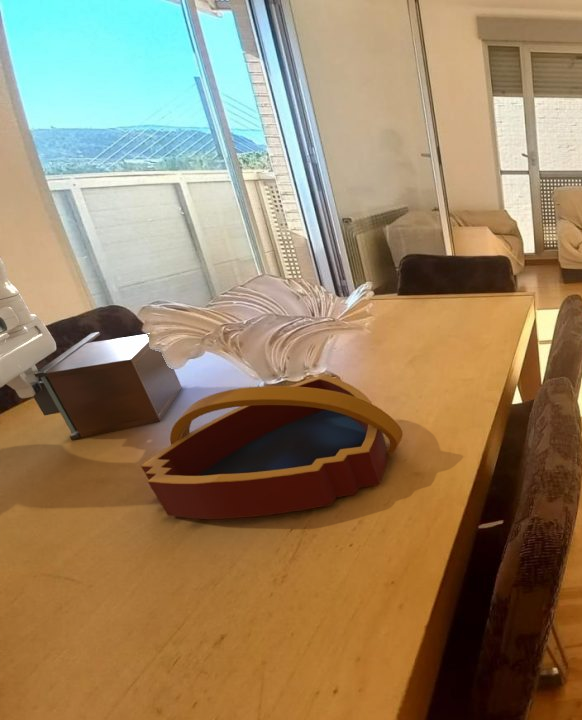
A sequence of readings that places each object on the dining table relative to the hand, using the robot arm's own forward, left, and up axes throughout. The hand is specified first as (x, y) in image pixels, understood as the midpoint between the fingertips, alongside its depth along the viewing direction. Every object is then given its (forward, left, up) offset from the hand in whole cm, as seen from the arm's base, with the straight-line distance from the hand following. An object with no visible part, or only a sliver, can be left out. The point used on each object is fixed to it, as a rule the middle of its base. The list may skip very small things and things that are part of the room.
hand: (32, 394), depth 81 cm
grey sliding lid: (+1, +9, -9) cm, 12 cm away
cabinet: (+8, +12, -10) cm, 17 cm away
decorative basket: (+37, -31, -10) cm, 50 cm away
